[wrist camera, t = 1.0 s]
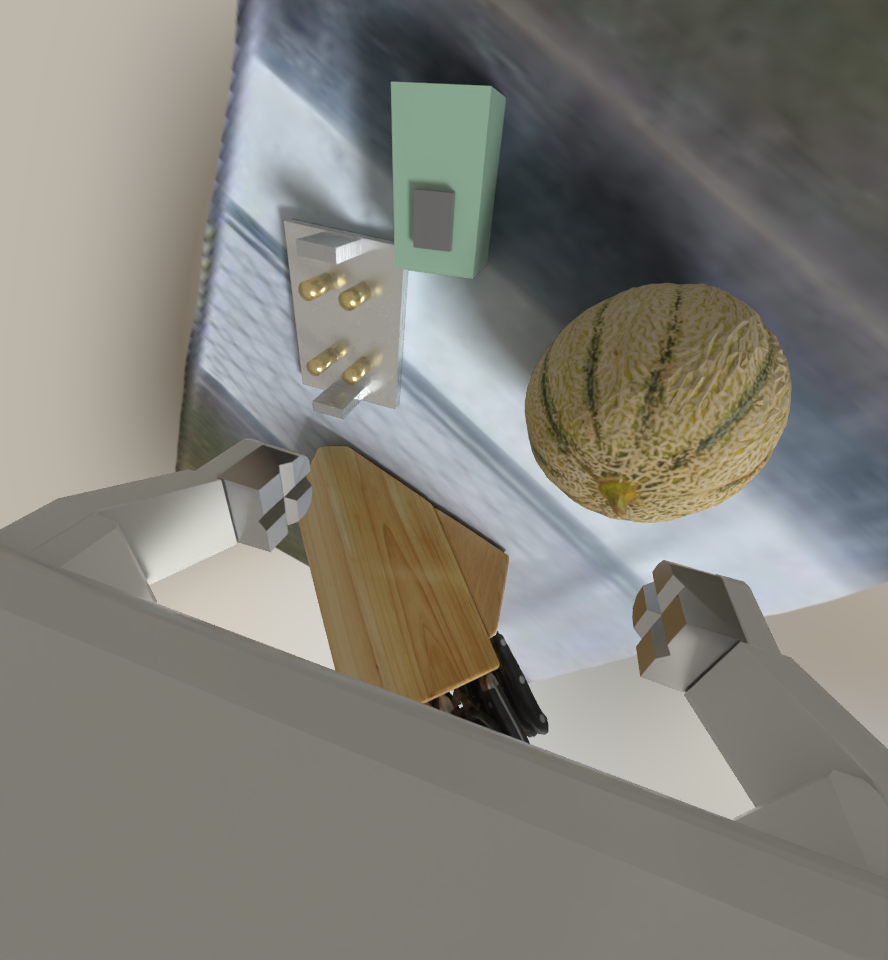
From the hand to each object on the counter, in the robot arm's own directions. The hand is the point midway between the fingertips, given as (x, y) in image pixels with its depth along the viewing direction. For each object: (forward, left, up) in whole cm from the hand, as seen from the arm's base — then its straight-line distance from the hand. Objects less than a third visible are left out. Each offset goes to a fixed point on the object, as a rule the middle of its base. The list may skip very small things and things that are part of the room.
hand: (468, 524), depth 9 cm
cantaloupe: (+5, +8, -27) cm, 28 cm away
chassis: (+7, -16, -26) cm, 32 cm away
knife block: (+32, -5, -27) cm, 42 cm away
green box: (-4, -8, -27) cm, 28 cm away
